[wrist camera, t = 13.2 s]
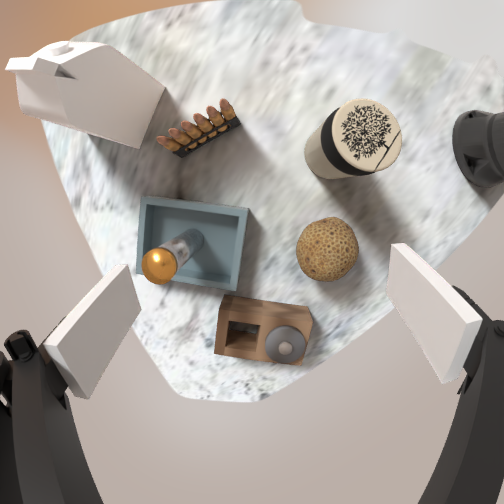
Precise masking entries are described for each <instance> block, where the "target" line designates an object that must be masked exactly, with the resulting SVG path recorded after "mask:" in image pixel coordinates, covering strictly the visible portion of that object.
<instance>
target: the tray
mask: <svg viewBox="0 0 504 504" xmlns="http://www.w3.org/2000/svg"><path fill="white" fill-rule="evenodd" d="M248 212H249V208H243V207H236V206H229V205H222V204H215V203H207V202H199V201H192V200H184V199H175V198H167V197H158V196H144V197H141V204H140V215H139V227H138V242H137V261H136V274H141V275H144V274H143V271H142V267H141V263H142V259H143V257H144V255H145V254H146V253H147V252H149V251H150V250H152V249H154V248H157V247H159V246H161V245H162V244H164V243H166V242H167V241H169V240H171V239H173V238H174V237H176V236H178V235H179V234H181V233H183V232H185V231H186V230H188V229H197V230H199V231H200V232H201V233H202V235H203V237H204V244H203V246H202V247H201V248H200V249H199V250H198V251H197V252H196V253H195V254H194V255H193V256H192V257H191V258H190V259H189V260H188V261H187V262H186V263H185V264H184V265H183V266H182V267H181V268H180V269H179V270H178V271H177V272H176V274H175V276H174V277H173V278H172V279H171V280H173V281H178V282H184V283H189V284H195V285H201V286H207V287H213V288H219V289H225V290H231V291H236V289H237V285H238V281H239V274H240V267H241V260H242V253H243V246H244V239H245V233H246V226H247V219H248Z"/></svg>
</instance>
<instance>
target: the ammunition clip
mask: <svg viewBox="0 0 504 504" xmlns="http://www.w3.org/2000/svg"><path fill="white" fill-rule="evenodd" d="M220 108H221V112H219V111H217V110H216V109H215V108H214V107H212V106H208V107H207V109H206V111H207V114H208V116H209V119H207V118H206V117H204V116H202V115H201V114H199V113H195V114H194V116H193V118H194V120H195V122H196V123H197V126H196V125H195V124H192V123H190V122H188V121H182V122H181V126H182V128H183V129H184V130H185V131H186V132H184V131H181V130H178V129H175V128H170V129H169V134H170V135H171V136H172V137H173V138H174V139H173V138H171V137H166V136H158V137H157V141H158V142H159V143H160V144H161V145H163V146H164V147H165V148H167V149H169V150H171V151H174V152H173V153H174V154H176V155H178V156H179V157H184V156H186V155H188V154H189V153H191V152H193V151H194V150H196V149H198V148H199V147H201V146H203V145H204V144H206V143H208V142H210V141H211V140H213V139H215V138H217V137H219V136H220V135H222V134H224V133H226V132H228V131H230V130H231V129H233V128H235V127H237V126H239V125H241V123H240V121H239V120H238V118H237V116H236V114H235V112H234V109H233V107H232V106H231V105H230V104H229V102H228V101H227V100H226V99H221V100H220ZM222 115H223V116H224V118H223V117H222ZM210 121H211V122H212V123H213V125H212V123H211V122H210Z"/></svg>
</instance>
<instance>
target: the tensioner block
mask: <svg viewBox="0 0 504 504" xmlns="http://www.w3.org/2000/svg"><path fill="white" fill-rule="evenodd" d="M230 321H236V322H242V323H249V324H256V325H258V330H257V334H255V333H248V332H241V331H235V330H229V328H230ZM312 324H313V321H312V318H311V315H310V312H309V310H308V307H307V306H299V305H292V304H284V303H277V302H270V301H263V300H257V299H250V298H244V297H237V296H231V295H225V294H224V297H223V299H222V302H221V305H220V308H219V313H218V322H217V331H216V340H215V349H214V354H218V355H224V356H230V357H237V358H243V359H250V360H257V361H265V362H273V363H281V364H290V365H300V366H301V365H302V361H303V358H304V354H305V350H306V347H307V343H308V339H309V336H310V332H311V328H312Z"/></svg>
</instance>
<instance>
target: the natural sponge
mask: <svg viewBox="0 0 504 504" xmlns="http://www.w3.org/2000/svg"><path fill="white" fill-rule="evenodd" d="M358 252H359V247H358V242H357V239H356V237H355V234H354V232H353V230H352V229H351V228H350V226H349V225H348V224H346V223H345V222H344V221H342V220H341V219H338V218H336V217H329V218H325V219H322V220H319V221H316V222H313V223H311V224H309V225H308V226H307V227H306V228H305V229H304V231H303V232H302V234H301V236H300V238H299V240H298V243H297V248H296V255H297V259H298V263H299V265H300V267H301V269H302V271H303V272H304V273H305V274H306V275H307V276H308V277H310V278H312V279H314V280H318V281H335V280H338V279H339V278H341V277H343V276H344V275H345V274H346V273H347V272H348V271H349V270H350V269H351V268H352V267H353V265H354V264H355V262H356V260H357V257H358Z"/></svg>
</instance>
